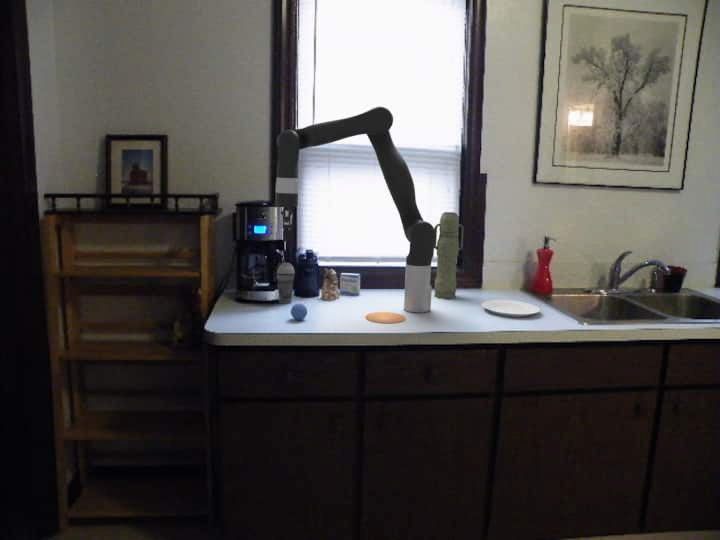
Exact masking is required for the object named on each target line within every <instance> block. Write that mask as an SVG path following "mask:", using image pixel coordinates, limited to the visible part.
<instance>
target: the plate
mask: <svg viewBox="0 0 720 540" xmlns="http://www.w3.org/2000/svg"><path fill="white" fill-rule="evenodd" d="M481 306H482V307H483V308H485V309H487V310H488V311H490V312H492V313H493V314H496V315H498V316H503V315H504V317H510V316H511V317H513V318H515V317H516V318H519V317H520V318H521V317H522V318H523V317H527V316H531V315H534V314H537V313H539V312H540V310H541V309H540V308H539V307H538V306H536V305H535V304H531V303H528V302H523V301H517V300H508V299H493V300H485V301H484V302H482V303H481ZM492 308H495V309H496V310H497V311H498V310H499V311H500V310H501V311H502V312H497V311H493V310H491V309H492Z"/></svg>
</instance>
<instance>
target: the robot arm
mask: <svg viewBox="0 0 720 540" xmlns="http://www.w3.org/2000/svg"><path fill="white" fill-rule="evenodd" d="M393 123H394V116H393V114H392V112H391V111H390V109H388V107H385V106H374V107H372V108H370V109H368V110H367V111H365V112H362V113H359V114H356V115H353V116H349V117H346V118H345V117H344V118H340V119H335V120H334V119H333V120H330V121H324V122H319V123H315V124H310V125H307V126H305V127H303V128H298V129H297V128H296V129H285V130H283V131H281V133H280V134H278V136H277V138H276V146H277V149H278V152H277V153H278V154H277V155H278V156H277V158H278V160H277V165H276V182H275V205H276V207H282V211H280V218H281V219H280V223H281V228H282V241H283V242H290V240H291V238H290V237H291V236H290V233H291V232H290V231H291V228H292V227H291V225H292V223H293V222H292V221H293V211H291V208H292V207H293V208H294V207H295V208H296V207H298V206H299V180H298V179H299V156H300V150H301V151H302V150H304V149H307V148H313V147H314V148H315V147H319V146H324V145H327V144H331V143H335V142H338V141H342V140H345V139H347V138H351V137H354V136H360V135H366V136H367V138H368V140H369V143H370V144H371V146H372V148H373V150H374V153H375V154H376V158H377V161H378V165H379V167H380V170H381V174H382V175H383V179H384V181H385V184H386V187H387V190H388V191H389V193H390V196H391V198H392V201H393V203H394V205H395V207H396V210H397V212H398V215H399V219H400V221H401V225H402V229H403V232H404V237H405V238H406V239H407V241H408V242H409V252H408V254H407V256H406V258H405V274H404V275H405V276H404V277H405V279H404V298H403V299H404V302H403V309H404V310H405V311H406V312H409V313H418V314H419V313H426V312H431V311H432V310H431V309H432V308H431V307H432V292H433V291H432V289H433V287H432V284H431V275H432V260H433V258H434V255H435V248H434V245H435V230H434V226H433V225H432V223H430V222H428V221H426V220H424V218H423V217H422V214H421V212H420V210H419V208H418V204H417V200H416V191H415V190H416V188H415V183H414V180H413V179H414V178H413V177H412V174H411V172H410V168H409V165H408V164H407V163H406V161H405V159H404V157H403V156H402V155H401V153H400V151H398V149H397V147H396V145H395V143H394V142H393V138H392V135H391V132H390V129H391V128H392V126H393Z"/></svg>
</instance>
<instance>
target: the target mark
mask: <svg viewBox="0 0 720 540" xmlns="http://www.w3.org/2000/svg"><path fill="white" fill-rule="evenodd" d="M365 319H366V320H367V321H369V322H371V323H372V322H373V323H377V324H378V323H379V324H385V325H386V324H387V325H388V324H400V323H402V322H405V321H406V319H407V318H406V316H405V315H403V314H400V313H396V312H390V311H379V312H378V311H377V312H371V313H368V314H365Z"/></svg>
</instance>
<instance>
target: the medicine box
mask: <svg viewBox="0 0 720 540" xmlns="http://www.w3.org/2000/svg"><path fill="white" fill-rule="evenodd" d="M340 294H346V295H345V296H355V295H358V296H359V295H360V294H361V273H349V272H342V273H340V277H339V295H340Z"/></svg>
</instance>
